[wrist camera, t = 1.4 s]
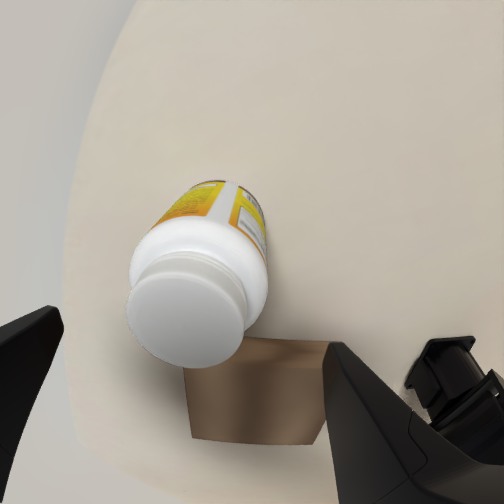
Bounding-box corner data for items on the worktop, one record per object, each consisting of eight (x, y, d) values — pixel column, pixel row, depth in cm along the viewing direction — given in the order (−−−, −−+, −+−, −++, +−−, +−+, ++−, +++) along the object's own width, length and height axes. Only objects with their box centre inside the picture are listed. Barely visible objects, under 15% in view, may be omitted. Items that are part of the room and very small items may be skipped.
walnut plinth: (341, 341, 22) (350, 368, 19) (309, 421, 27) (312, 444, 24) (190, 331, 22) (182, 358, 19) (196, 414, 27) (192, 437, 24)
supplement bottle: (164, 241, 19) (94, 345, 10) (196, 162, 17) (121, 214, 7) (241, 274, 20) (228, 400, 10) (280, 201, 18) (304, 295, 8)
